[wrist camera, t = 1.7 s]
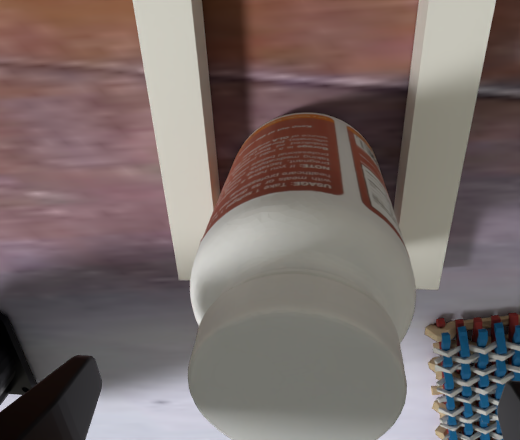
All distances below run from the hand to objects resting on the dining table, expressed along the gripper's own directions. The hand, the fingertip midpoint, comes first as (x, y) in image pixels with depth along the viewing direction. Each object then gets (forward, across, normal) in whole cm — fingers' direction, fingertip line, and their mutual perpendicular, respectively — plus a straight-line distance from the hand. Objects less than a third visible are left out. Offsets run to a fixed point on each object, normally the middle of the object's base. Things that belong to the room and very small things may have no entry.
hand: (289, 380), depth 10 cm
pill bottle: (+11, 0, 0) cm, 11 cm away
